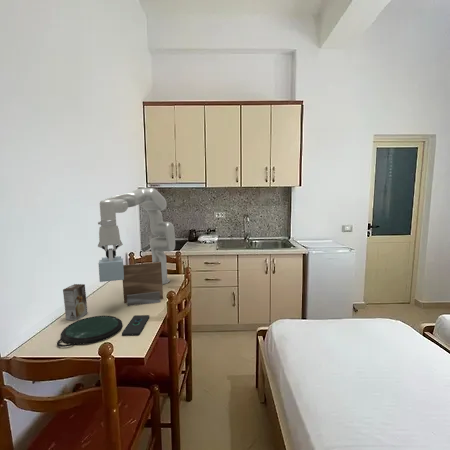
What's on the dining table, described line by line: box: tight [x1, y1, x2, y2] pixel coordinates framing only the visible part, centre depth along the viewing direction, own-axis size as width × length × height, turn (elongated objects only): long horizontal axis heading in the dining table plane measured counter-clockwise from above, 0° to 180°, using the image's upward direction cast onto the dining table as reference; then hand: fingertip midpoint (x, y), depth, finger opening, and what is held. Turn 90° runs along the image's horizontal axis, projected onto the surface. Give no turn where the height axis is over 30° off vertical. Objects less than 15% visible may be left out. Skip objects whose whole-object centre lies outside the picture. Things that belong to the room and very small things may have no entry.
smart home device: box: [121, 314, 150, 337], centre depth 148 cm, size 8×2×20 cm
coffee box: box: [62, 283, 88, 321], centre depth 161 cm, size 9×6×16 cm
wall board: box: [122, 262, 164, 307], centre depth 178 cm, size 7×22×22 cm, turn 106°
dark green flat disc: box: [56, 315, 123, 348], centre depth 143 cm, size 26×3×30 cm
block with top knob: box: [98, 247, 124, 283], centre depth 168 cm, size 12×12×16 cm
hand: (111, 257), depth 166 cm, fingers closed on block with top knob
